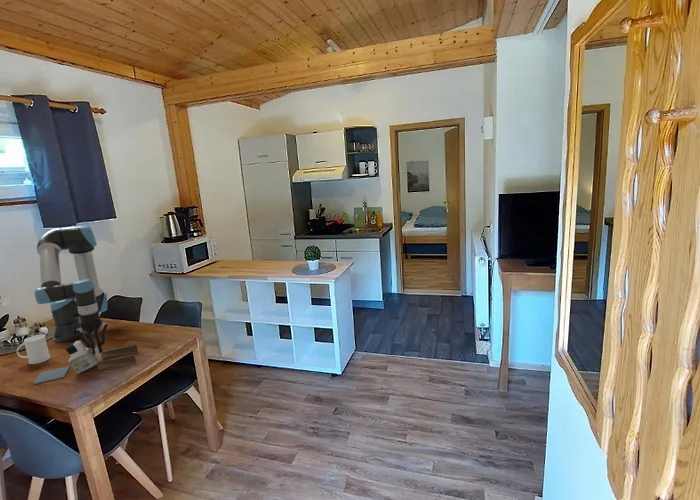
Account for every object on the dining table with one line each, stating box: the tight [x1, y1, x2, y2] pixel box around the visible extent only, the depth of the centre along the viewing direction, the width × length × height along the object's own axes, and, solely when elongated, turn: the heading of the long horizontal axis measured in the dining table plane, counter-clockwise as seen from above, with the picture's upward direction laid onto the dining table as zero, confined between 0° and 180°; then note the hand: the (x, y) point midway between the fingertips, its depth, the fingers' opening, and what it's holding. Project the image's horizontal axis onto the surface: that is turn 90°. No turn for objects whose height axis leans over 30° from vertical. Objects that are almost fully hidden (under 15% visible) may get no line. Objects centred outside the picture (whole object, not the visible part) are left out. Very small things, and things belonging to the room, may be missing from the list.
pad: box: [33, 365, 71, 386], centre depth 170 cm, size 11×11×1 cm
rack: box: [96, 343, 139, 372], centre depth 181 cm, size 14×15×4 cm
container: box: [65, 340, 98, 374], centre depth 173 cm, size 8×8×13 cm
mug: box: [16, 334, 51, 365], centre depth 185 cm, size 12×8×12 cm
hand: (99, 359), depth 177 cm, fingers closed
